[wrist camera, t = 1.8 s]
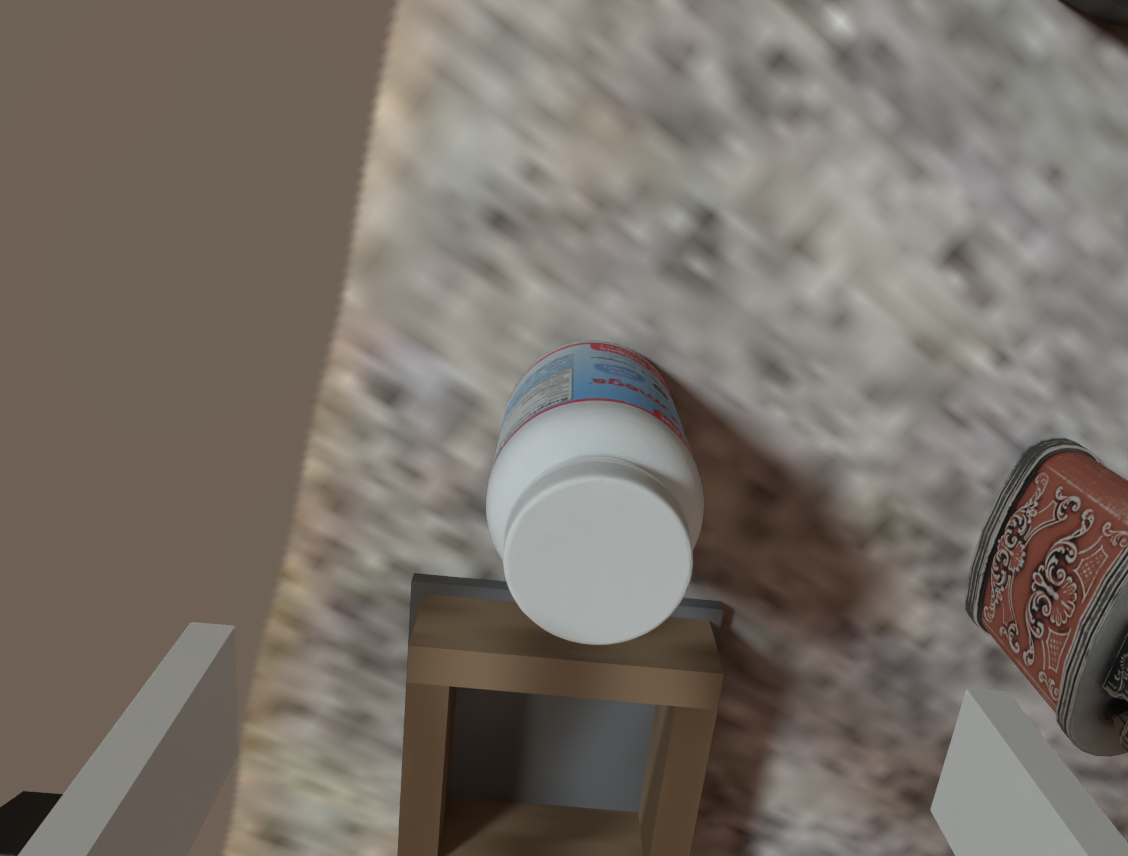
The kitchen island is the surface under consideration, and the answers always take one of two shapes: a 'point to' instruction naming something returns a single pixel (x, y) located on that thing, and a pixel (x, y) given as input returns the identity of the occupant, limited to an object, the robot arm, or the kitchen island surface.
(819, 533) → the kitchen island surface
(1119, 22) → the robot arm
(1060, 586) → the lighter
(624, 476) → the pill bottle
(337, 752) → the kitchen island surface
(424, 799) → the socket
